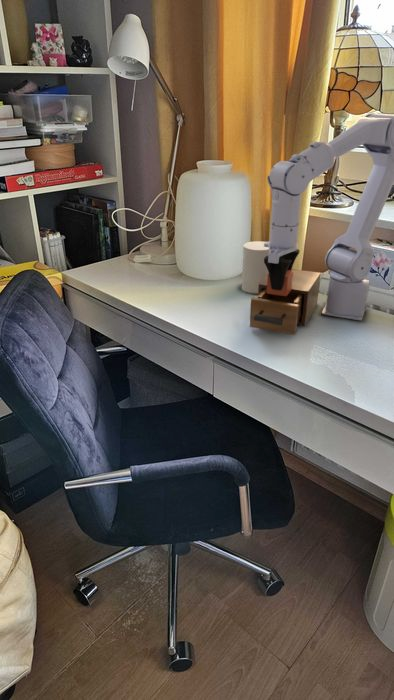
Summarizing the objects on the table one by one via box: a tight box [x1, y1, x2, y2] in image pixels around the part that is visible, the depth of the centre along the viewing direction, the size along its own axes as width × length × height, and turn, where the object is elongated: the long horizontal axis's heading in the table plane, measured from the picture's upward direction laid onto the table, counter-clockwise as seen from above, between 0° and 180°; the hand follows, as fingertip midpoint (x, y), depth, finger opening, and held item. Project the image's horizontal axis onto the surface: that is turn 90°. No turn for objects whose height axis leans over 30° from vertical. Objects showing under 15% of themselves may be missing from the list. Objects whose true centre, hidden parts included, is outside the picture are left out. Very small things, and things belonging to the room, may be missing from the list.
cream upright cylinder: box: [241, 240, 269, 295], centre depth 129 cm, size 8×8×12 cm
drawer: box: [249, 288, 305, 336], centre depth 108 cm, size 17×10×7 cm, turn 156°
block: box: [267, 270, 293, 296], centre depth 105 cm, size 4×4×4 cm
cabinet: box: [257, 268, 321, 327], centre depth 116 cm, size 14×12×9 cm
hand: (279, 285), depth 105 cm, fingers closed on block, 4 cm apart
